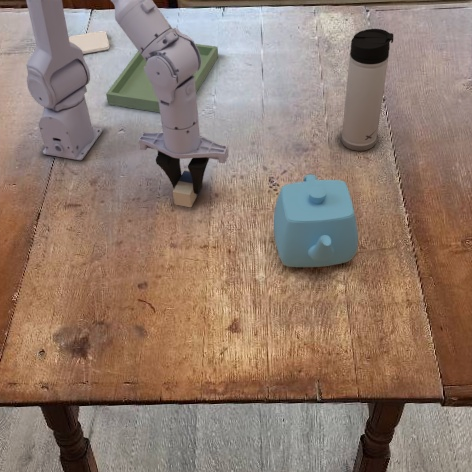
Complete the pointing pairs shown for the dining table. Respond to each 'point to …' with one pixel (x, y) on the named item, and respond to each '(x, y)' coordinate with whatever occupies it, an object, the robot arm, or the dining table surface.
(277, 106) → the dining table surface
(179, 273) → the dining table surface
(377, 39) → the travel mug
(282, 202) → the teapot
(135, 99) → the tray
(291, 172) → the dining table surface
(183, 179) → the eraser
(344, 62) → the dining table surface
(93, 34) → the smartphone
